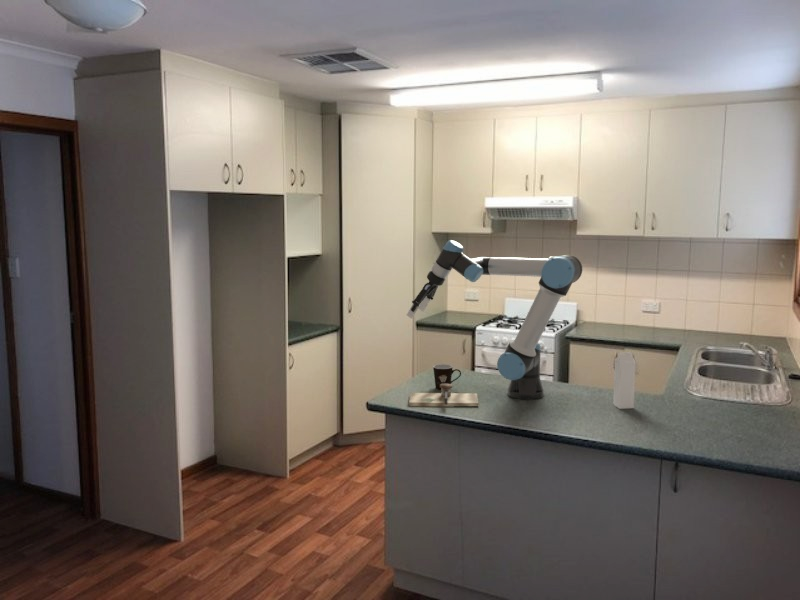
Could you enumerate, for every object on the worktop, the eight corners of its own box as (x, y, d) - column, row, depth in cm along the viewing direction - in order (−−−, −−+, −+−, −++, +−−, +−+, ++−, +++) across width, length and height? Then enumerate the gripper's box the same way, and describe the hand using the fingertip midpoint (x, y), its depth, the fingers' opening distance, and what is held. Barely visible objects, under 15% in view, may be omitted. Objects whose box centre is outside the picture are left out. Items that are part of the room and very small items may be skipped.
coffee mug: (430, 389, 288) (429, 367, 286) (438, 385, 295) (438, 363, 294) (454, 392, 282) (454, 370, 281) (461, 388, 290) (461, 366, 288)
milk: (633, 408, 258) (636, 354, 255) (619, 409, 258) (621, 354, 255) (627, 403, 264) (629, 350, 261) (612, 404, 264) (615, 351, 261)
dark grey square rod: (452, 393, 275) (452, 383, 274) (452, 405, 259) (452, 394, 258) (439, 393, 275) (439, 383, 275) (439, 404, 259) (439, 394, 258)
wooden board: (476, 396, 276) (476, 393, 276) (478, 406, 262) (478, 402, 262) (410, 396, 278) (410, 392, 278) (409, 405, 264) (409, 402, 264)
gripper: (441, 264, 289) (418, 302, 297) (420, 273, 267) (397, 314, 275) (455, 273, 288) (432, 311, 296) (435, 283, 265) (411, 324, 273)
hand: (415, 313), depth 285 cm, fingers open, 13 cm apart
